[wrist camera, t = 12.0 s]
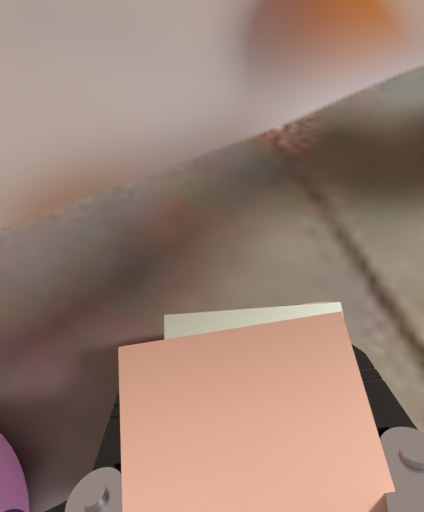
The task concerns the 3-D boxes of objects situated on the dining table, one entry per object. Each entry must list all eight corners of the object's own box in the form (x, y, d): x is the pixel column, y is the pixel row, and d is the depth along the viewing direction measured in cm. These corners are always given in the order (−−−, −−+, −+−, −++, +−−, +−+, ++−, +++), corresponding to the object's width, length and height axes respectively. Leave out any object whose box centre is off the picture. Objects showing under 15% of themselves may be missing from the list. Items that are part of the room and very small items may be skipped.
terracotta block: (291, 347, 15) (341, 311, 7) (318, 468, 13) (435, 624, 5) (190, 363, 15) (118, 346, 7) (203, 484, 14) (126, 656, 5)
